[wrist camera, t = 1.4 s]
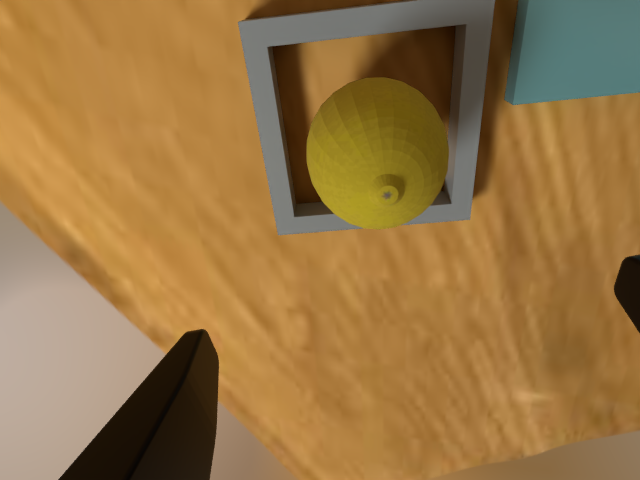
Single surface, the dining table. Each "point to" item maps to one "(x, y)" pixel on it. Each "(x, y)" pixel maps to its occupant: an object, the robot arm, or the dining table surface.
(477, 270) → the dining table surface
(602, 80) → the tile
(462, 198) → the holder
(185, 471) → the robot arm
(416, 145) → the lemon
